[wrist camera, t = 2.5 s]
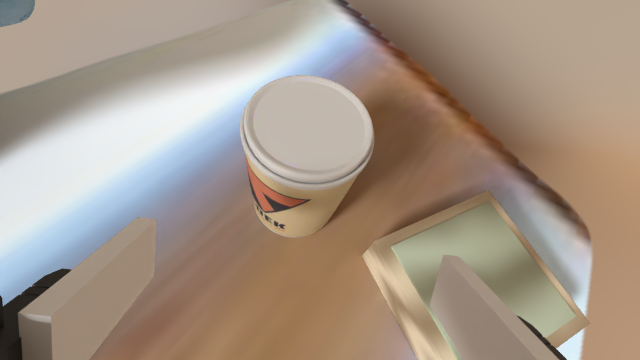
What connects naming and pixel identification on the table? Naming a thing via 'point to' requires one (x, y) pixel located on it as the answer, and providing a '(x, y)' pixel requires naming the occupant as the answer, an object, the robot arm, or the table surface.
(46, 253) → the table surface
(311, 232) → the coffee cup
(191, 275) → the table surface
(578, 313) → the birch riser
